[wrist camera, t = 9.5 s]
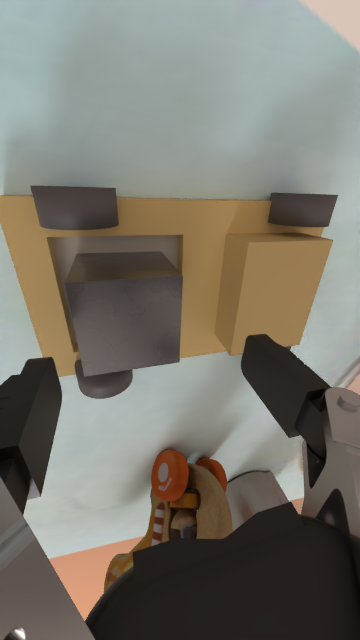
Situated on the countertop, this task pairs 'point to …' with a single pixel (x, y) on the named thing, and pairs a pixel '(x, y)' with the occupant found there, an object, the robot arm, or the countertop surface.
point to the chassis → (184, 253)
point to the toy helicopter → (181, 506)
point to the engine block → (125, 310)
